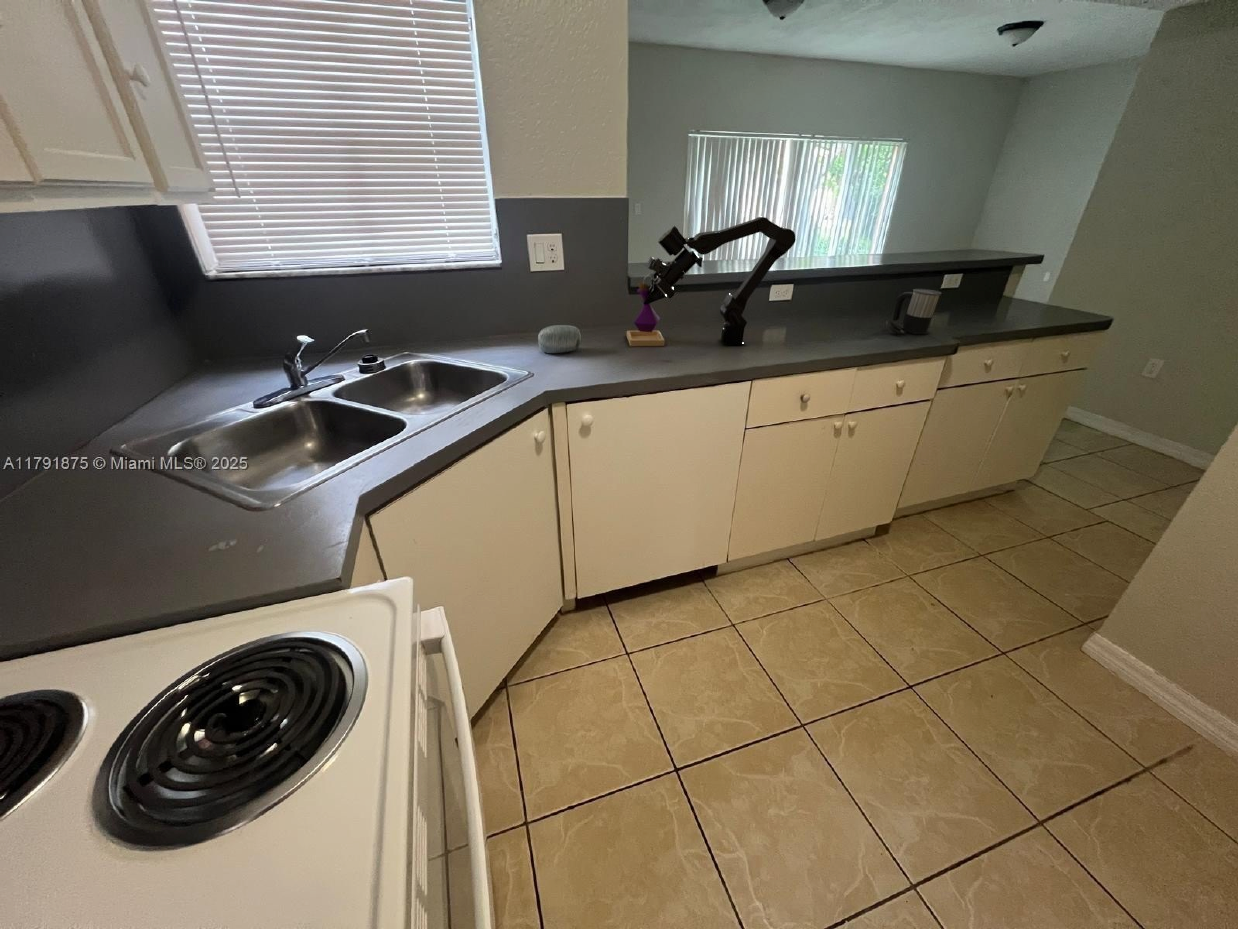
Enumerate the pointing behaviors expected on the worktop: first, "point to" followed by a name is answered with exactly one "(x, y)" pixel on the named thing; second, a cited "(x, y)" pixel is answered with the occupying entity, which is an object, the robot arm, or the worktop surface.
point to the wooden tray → (645, 338)
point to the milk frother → (915, 311)
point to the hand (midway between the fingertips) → (643, 302)
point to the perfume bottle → (646, 311)
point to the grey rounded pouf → (559, 339)
